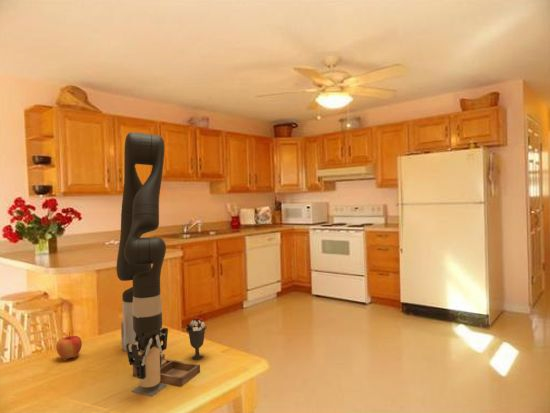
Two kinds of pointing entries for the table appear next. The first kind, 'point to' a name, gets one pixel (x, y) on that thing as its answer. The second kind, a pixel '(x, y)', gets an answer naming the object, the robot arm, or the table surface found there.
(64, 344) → the apple
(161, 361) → the offcut upper
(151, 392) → the coaster
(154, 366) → the candle
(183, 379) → the tray
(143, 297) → the robot arm
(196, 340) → the sundae
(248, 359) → the table surface
